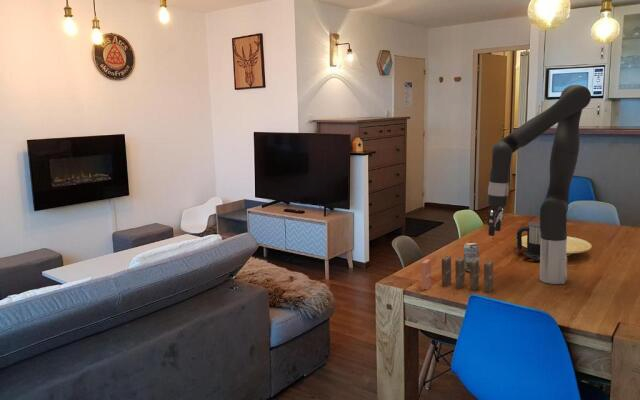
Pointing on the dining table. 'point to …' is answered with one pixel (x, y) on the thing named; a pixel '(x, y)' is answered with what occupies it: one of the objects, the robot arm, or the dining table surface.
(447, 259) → the tile
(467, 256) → the beverage can
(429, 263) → the end tile
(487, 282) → the tile
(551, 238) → the robot arm
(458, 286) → the tile
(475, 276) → the tile
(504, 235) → the dining table surface
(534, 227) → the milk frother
